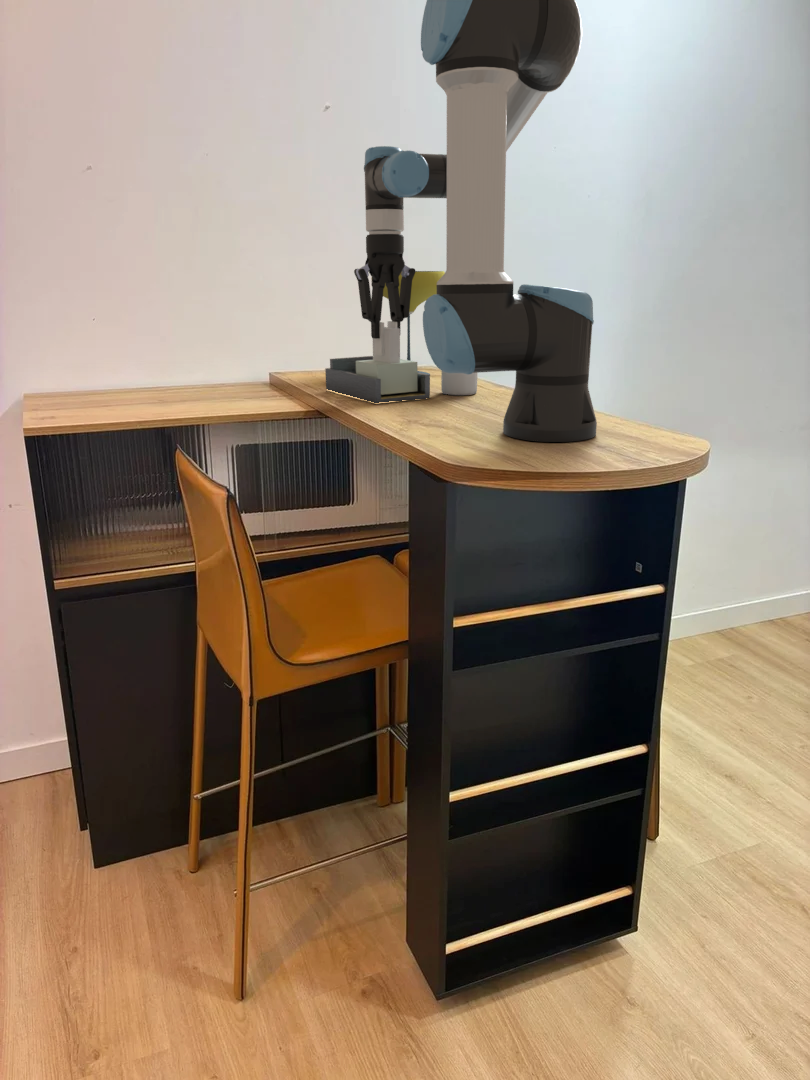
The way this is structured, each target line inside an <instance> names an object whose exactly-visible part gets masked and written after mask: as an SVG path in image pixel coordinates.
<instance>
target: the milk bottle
mask: <svg viewBox="0 0 810 1080" xmlns="http://www.w3.org/2000/svg"><path fill="white" fill-rule="evenodd" d="M440 376H441V377H440V378H441V383H440V385H441V387H440V388H441V393H442V394H443V395H447V394H448V395H449V396H469V395H475V394H477V392H478V373H472V374H464V373H446V372H443V371H442V370H441V375H440ZM448 395H447V396H448Z"/></svg>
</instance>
